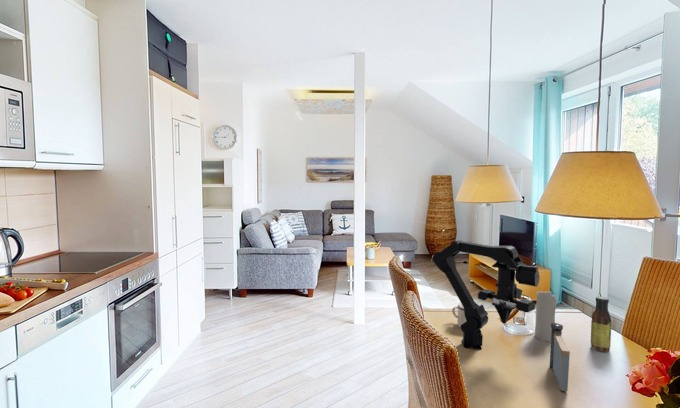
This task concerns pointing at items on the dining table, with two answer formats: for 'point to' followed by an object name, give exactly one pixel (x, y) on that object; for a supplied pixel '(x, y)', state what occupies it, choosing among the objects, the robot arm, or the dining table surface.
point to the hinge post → (555, 329)
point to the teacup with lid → (459, 314)
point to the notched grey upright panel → (545, 315)
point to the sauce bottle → (601, 326)
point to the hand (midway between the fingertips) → (504, 323)
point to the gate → (561, 362)
